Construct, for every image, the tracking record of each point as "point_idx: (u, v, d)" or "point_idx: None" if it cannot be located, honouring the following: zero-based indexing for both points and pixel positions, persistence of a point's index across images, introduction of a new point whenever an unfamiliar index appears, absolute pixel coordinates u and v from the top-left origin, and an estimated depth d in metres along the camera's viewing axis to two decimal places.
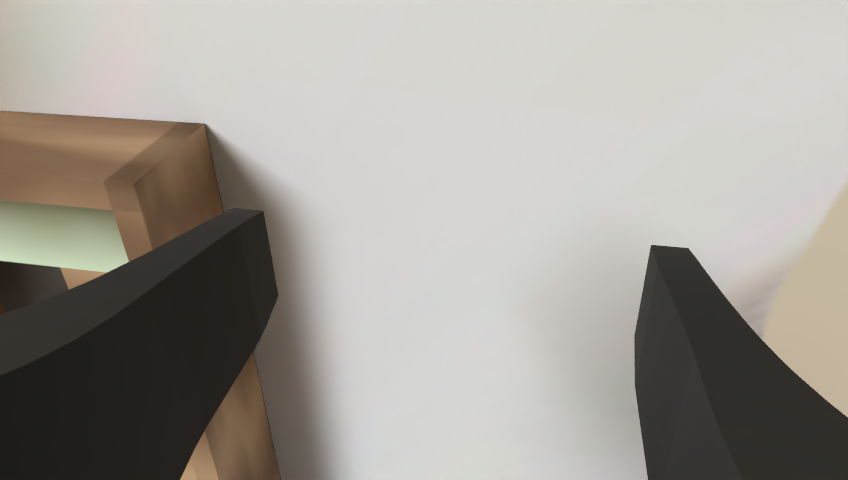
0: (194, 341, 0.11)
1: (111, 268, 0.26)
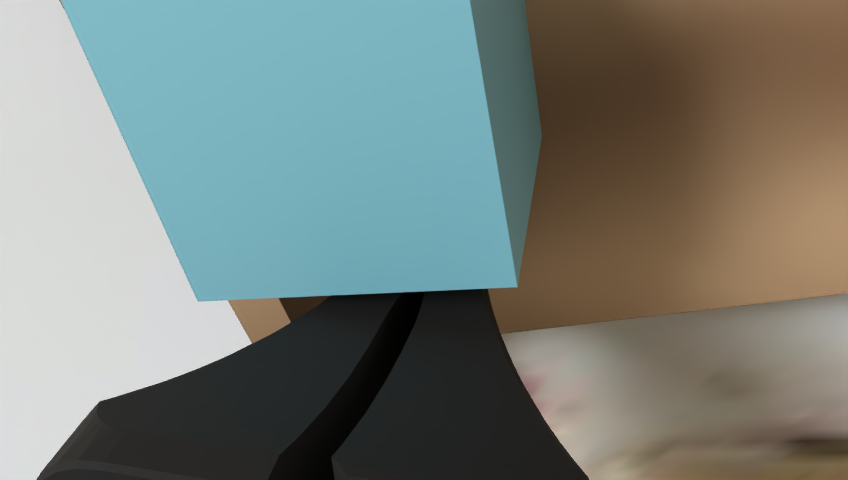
0: None
1: None
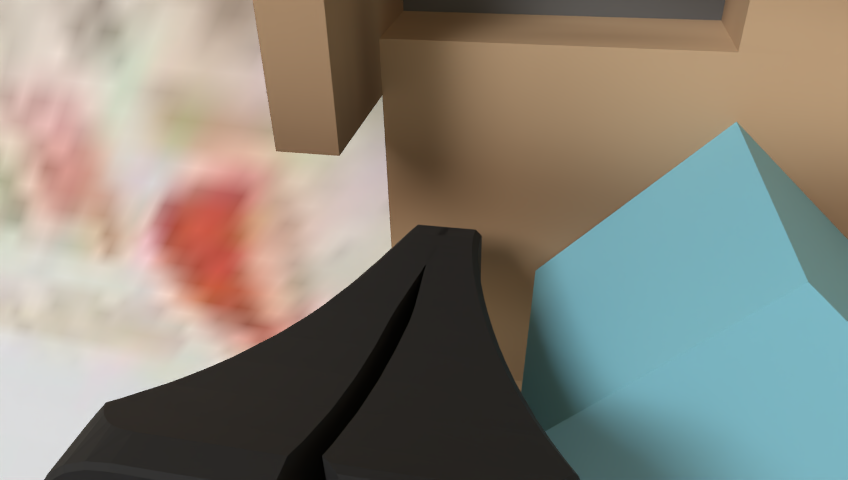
0: None
1: None
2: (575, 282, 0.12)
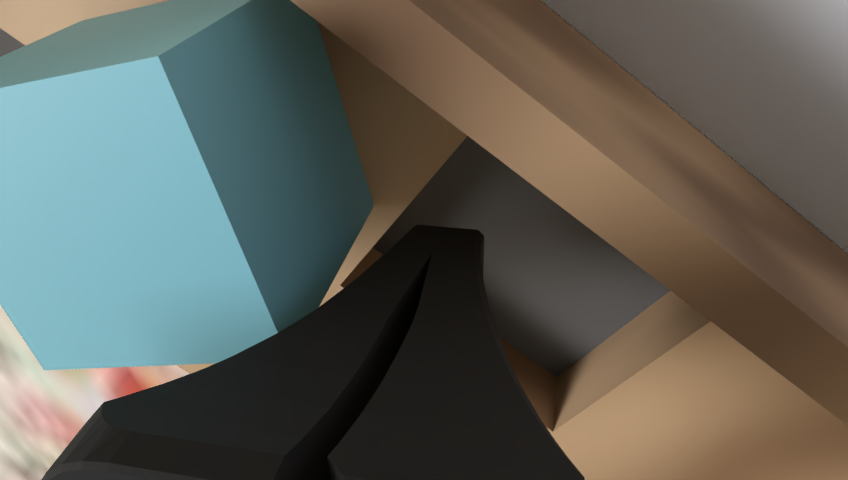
0: None
1: None
2: None
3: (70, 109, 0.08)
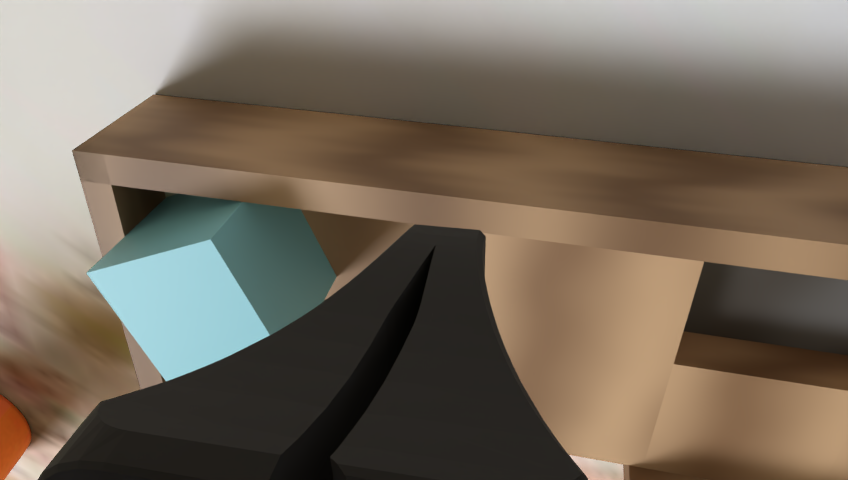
0: None
1: None
2: None
3: (175, 263, 0.19)
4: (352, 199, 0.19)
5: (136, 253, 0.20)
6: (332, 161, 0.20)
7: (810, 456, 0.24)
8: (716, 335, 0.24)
